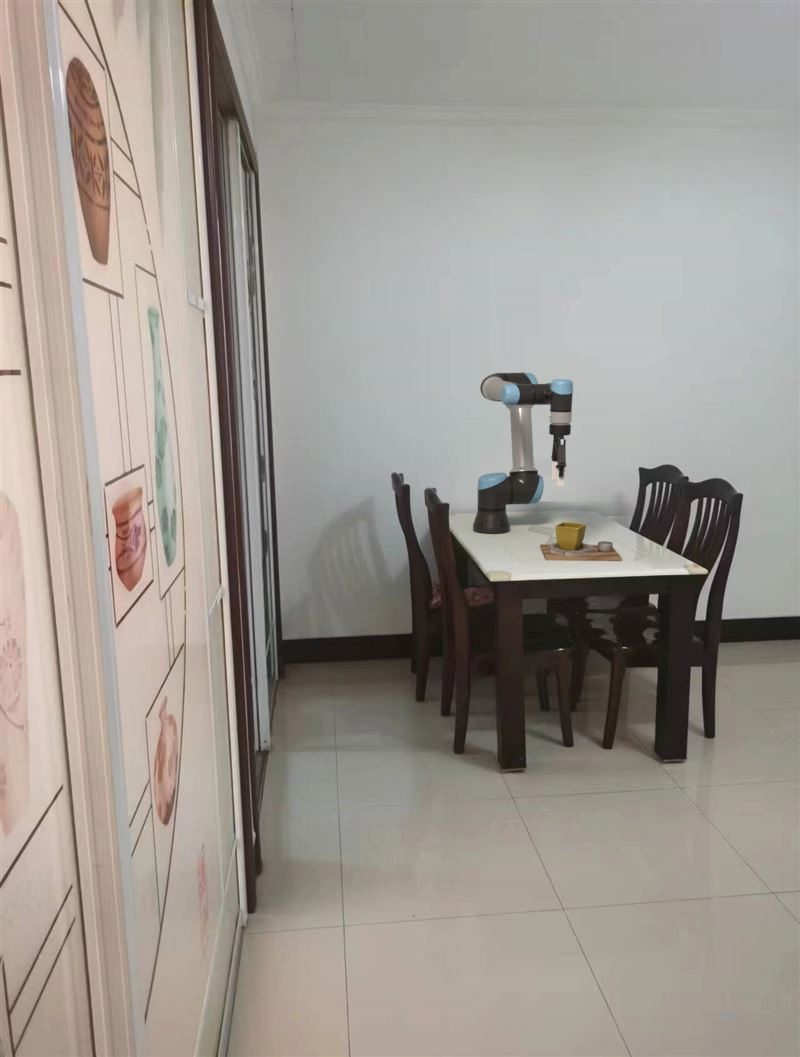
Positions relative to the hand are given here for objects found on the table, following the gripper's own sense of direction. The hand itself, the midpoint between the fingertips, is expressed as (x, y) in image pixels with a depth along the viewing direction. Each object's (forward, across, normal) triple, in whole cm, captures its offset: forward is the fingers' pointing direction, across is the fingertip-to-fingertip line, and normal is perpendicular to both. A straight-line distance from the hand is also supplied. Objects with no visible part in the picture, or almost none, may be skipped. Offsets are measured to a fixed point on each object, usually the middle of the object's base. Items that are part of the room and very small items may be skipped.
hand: (557, 482), depth 288 cm
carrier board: (+24, +8, +8) cm, 27 cm away
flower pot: (+24, +6, +5) cm, 25 cm away
